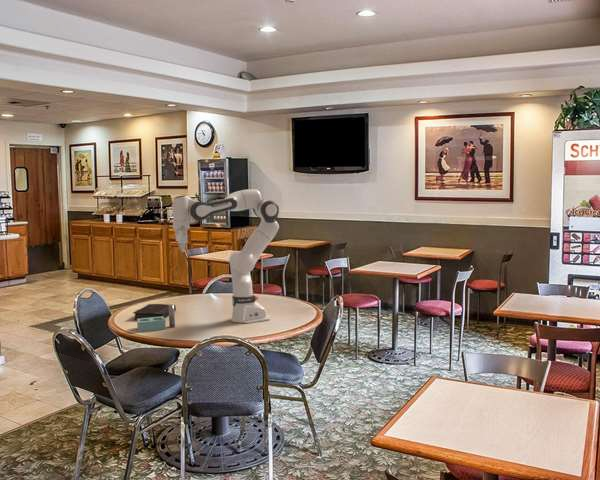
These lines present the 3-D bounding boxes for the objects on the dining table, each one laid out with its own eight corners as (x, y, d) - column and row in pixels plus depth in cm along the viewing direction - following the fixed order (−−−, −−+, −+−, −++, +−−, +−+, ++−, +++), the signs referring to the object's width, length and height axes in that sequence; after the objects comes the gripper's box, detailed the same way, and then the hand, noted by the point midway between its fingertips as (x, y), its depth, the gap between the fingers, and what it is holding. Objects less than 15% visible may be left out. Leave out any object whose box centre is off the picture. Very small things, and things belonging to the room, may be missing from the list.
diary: (176, 312, 355) (176, 304, 355) (162, 321, 331) (162, 313, 330) (147, 311, 357) (146, 303, 357) (131, 321, 333) (131, 312, 332)
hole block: (163, 325, 319) (163, 316, 319) (165, 329, 310) (165, 320, 309) (137, 327, 315) (137, 318, 314) (138, 331, 305) (138, 322, 305)
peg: (174, 325, 317) (173, 304, 316) (175, 327, 314) (174, 305, 313) (169, 326, 316) (168, 305, 315) (169, 327, 313) (168, 306, 312)
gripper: (190, 226, 303) (190, 252, 304) (184, 224, 322) (184, 248, 323) (178, 226, 301) (178, 253, 302) (172, 224, 320) (173, 249, 321)
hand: (181, 250), depth 313 cm, fingers open, 8 cm apart
